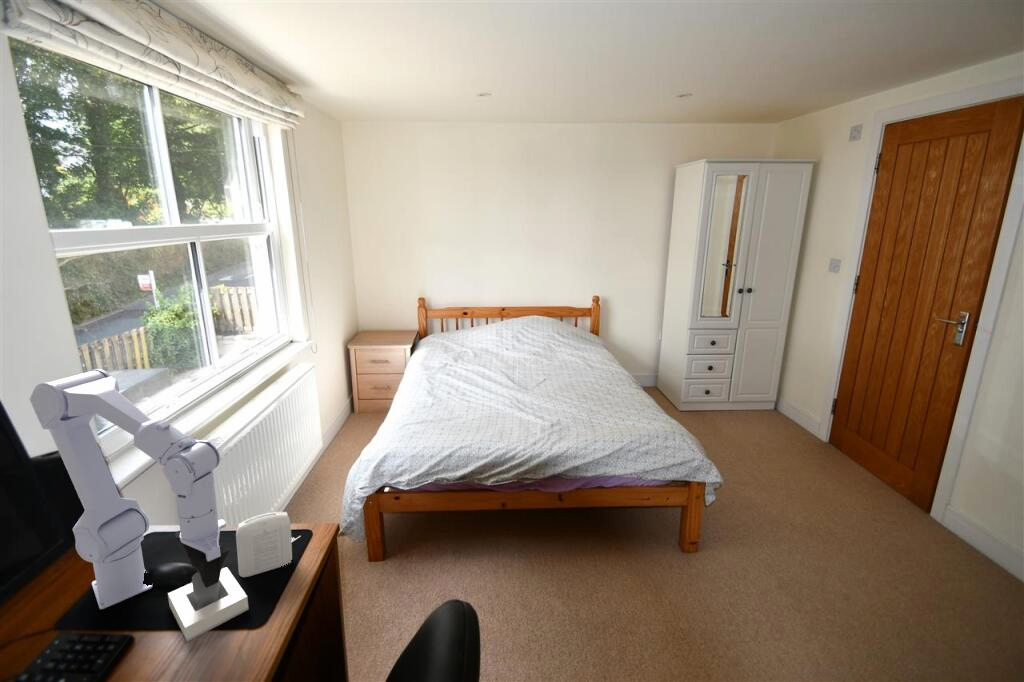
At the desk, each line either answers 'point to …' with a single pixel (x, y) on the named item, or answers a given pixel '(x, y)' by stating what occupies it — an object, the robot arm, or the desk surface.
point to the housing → (212, 614)
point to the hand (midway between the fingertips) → (204, 573)
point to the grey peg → (204, 592)
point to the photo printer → (263, 543)
